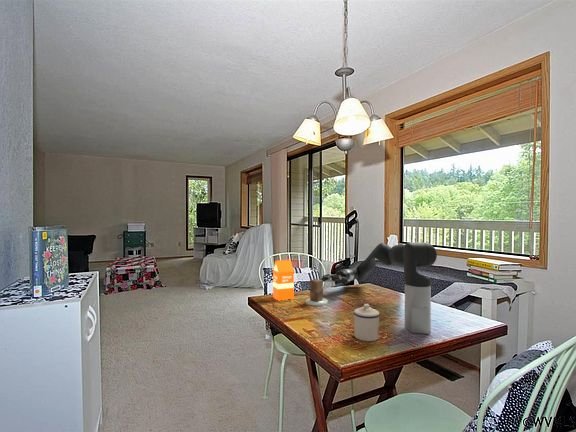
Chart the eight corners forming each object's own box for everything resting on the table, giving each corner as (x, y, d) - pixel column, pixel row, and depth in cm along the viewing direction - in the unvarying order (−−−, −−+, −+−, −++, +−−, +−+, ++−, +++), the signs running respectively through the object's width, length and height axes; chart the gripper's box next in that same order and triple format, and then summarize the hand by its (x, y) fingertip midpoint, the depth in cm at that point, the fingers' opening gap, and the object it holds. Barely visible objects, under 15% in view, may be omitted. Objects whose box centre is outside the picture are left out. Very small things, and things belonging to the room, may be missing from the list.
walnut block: (322, 300, 156) (322, 280, 156) (317, 302, 153) (317, 281, 153) (315, 298, 159) (315, 278, 159) (310, 300, 156) (310, 280, 156)
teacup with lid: (384, 340, 110) (384, 307, 109) (360, 343, 108) (360, 309, 108) (369, 328, 121) (368, 298, 121) (346, 330, 120) (346, 299, 119)
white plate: (326, 306, 150) (326, 304, 150) (303, 305, 152) (303, 302, 152) (328, 300, 160) (328, 297, 160) (307, 299, 163) (307, 296, 163)
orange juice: (293, 299, 163) (293, 260, 163) (278, 301, 159) (278, 261, 159) (288, 295, 170) (288, 258, 170) (272, 297, 167) (272, 259, 166)
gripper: (333, 268, 181) (317, 272, 169) (355, 271, 172) (340, 276, 160) (333, 281, 181) (317, 286, 169) (355, 284, 172) (340, 290, 160)
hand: (328, 281), depth 164 cm, fingers open, 8 cm apart
